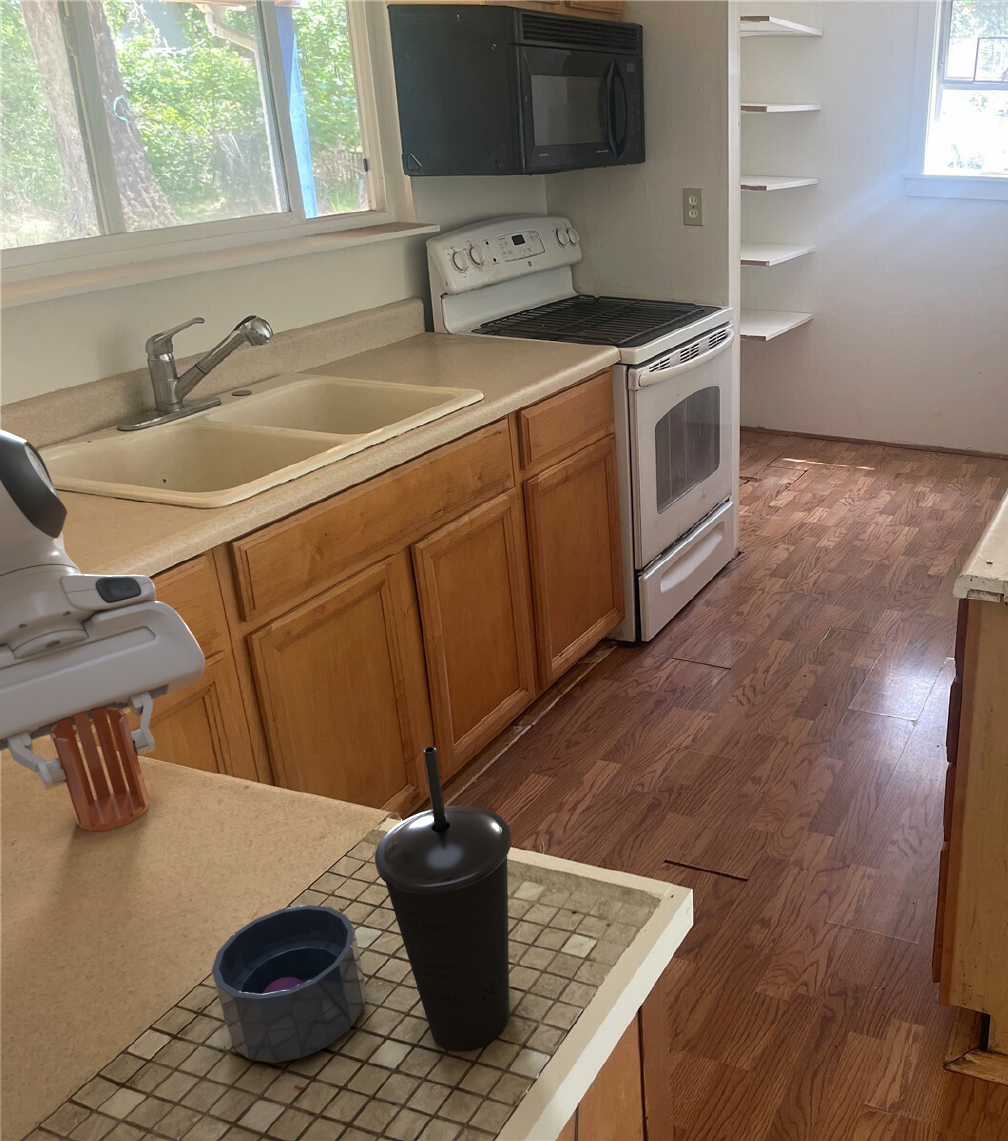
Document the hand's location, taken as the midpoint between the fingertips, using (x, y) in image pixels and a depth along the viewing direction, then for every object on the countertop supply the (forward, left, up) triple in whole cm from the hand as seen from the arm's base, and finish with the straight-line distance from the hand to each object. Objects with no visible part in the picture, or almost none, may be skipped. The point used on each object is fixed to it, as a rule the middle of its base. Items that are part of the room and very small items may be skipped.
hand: (103, 767), depth 86 cm
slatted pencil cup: (0, 0, -5) cm, 5 cm away
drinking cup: (+28, -30, -5) cm, 42 cm away
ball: (+17, -28, -3) cm, 33 cm away
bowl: (+18, -27, -5) cm, 33 cm away
